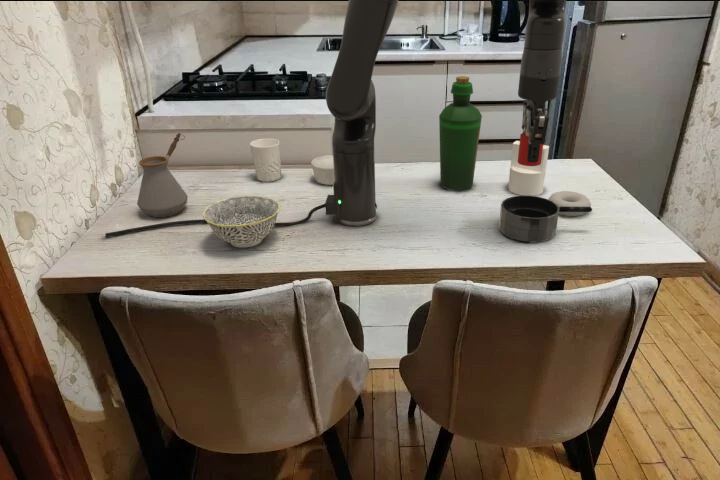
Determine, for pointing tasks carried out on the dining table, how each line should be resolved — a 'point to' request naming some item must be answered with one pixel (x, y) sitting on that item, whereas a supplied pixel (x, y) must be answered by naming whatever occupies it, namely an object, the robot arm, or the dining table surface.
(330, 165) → the ramekin
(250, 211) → the bowl
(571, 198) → the donut
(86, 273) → the dining table surface
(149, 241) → the dining table surface
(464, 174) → the bottle
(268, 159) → the beige cylinder
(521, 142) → the ketchup bottle
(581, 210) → the handle
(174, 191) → the coffee pot
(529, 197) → the grey round hollow bowl
